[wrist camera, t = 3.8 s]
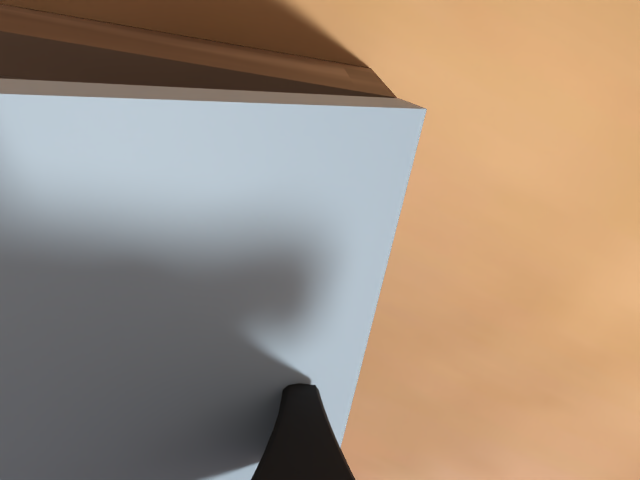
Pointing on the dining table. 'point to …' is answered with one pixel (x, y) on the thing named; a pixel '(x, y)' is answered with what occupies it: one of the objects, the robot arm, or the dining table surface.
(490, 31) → the dining table surface
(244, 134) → the lid
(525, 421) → the dining table surface
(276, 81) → the box
